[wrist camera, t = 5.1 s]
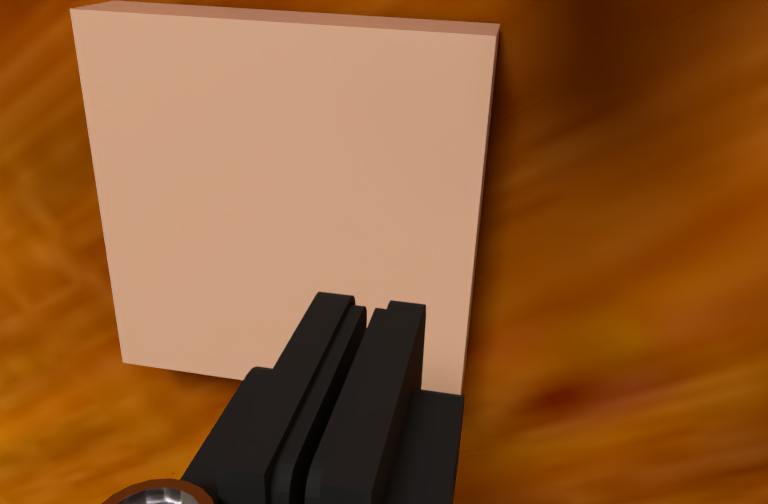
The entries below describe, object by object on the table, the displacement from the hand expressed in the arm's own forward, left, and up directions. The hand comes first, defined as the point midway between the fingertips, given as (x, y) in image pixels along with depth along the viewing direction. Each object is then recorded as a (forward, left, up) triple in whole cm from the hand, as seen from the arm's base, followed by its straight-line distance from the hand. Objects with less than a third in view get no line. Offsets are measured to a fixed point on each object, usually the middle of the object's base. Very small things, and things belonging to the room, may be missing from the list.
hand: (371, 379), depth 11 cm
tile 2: (0, +1, -6) cm, 6 cm away
